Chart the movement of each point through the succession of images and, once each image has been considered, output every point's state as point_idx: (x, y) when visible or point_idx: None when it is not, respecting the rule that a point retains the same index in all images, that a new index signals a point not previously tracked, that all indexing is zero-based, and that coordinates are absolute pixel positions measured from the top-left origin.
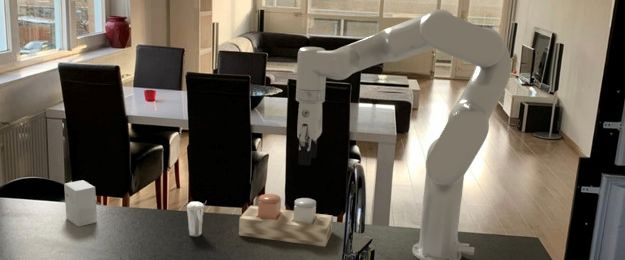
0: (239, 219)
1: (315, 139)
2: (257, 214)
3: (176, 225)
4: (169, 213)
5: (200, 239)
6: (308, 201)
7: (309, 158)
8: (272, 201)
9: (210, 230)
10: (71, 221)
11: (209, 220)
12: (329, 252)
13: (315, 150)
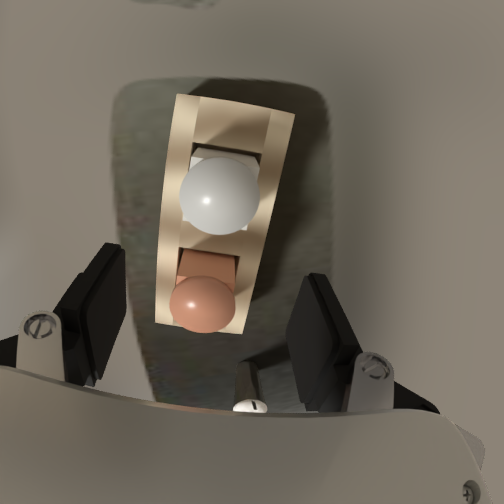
0: (242, 331)
1: (433, 414)
2: None
3: (214, 391)
4: (169, 403)
5: (267, 357)
6: (214, 186)
7: (334, 306)
8: (233, 298)
9: (224, 352)
10: None
11: (178, 359)
12: (317, 104)
13: (106, 278)
